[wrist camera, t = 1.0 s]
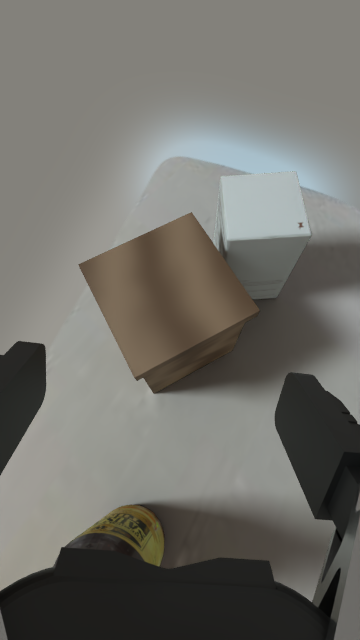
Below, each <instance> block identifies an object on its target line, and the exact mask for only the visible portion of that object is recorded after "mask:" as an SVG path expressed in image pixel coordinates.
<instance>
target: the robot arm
mask: <svg viewBox="0 0 360 640" xmlns="http://www.w3.org/2000/svg"><path fill="white" fill-rule="evenodd" d="M45 391H46V350H45V346H44V345H43V344H40V343H31V342H22V341H18V342H16V343H15V344H14V345H13V346H12V347H11V348H10V349H9V351H8V352H7V353H6V354H5V355H0V475H1V473H2V471H3V470H4V468H5V466H6V465H7V463H8V461H9V459H10V458H11V456H12V454H13V453H14V451H15V449H16V448H17V446H18V444H19V442H20V441H21V439H22V437H23V436H24V434H25V432H26V431H27V429H28V427H29V425H30V424H31V422H32V420H33V419H34V417H35V415H36V413H37V412H38V410H39V408H40V407H41V405H42V403H43V400H44V396H45ZM275 426H276V429H277V432H278V434H279V436H280V439H281V441H282V443H283V446H284V448H285V450H286V453H287V455H288V457H289V460H290V462H291V464H292V467H293V469H294V471H295V474H296V476H297V478H298V480H299V483H300V485H301V487H302V490H303V492H304V494H305V497H306V499H307V501H308V504H309V506H310V508H311V511H312V513H313V515H314V518H315V519H322V520H333V522H334V524H335V526H336V527H335V530H334V532H333V534H332V536H331V540H330V543H329V546H328V550H327V553H326V557H325V560H324V564H323V567H322V571H321V574H320V578H319V581H318V585H317V588H316V591H315V595H314V598H313V600H312V602H310V601H309V600H308V599H307V598H305V597H304V596H302V595H301V594H299V593H298V592H296V591H294V590H293V589H291V588H289V587H287V586H285V585H283V584H281V583H279V582H276V581H274V578H273V574H272V570H271V566H270V563H269V561H263V560H248V559H232V558H216V559H212V560H208V561H203V562H199V563H195V564H190V565H186V566H182V567H177V568H173V569H165V568H161V567H159V566H156V565H153V564H150V563H147V562H145V561H142V560H139V559H136V558H133V557H131V556H128V555H125V554H122V553H119V552H117V551H111V550H95V549H80V548H65V547H61V551H60V554H59V557H58V561H57V564H56V567H52V568H47V569H44V570H41V571H38V572H35V573H33V574H30V575H28V576H26V577H24V578H22V579H20V580H18V581H16V582H14V583H13V584H11V585H9V586H8V587H6V588H4V589H3V590H1V591H0V640H360V425H359V424H357V421H356V420H355V418H354V417H353V416H352V415H350V412H349V411H348V409H347V408H346V407H345V406H344V404H343V403H342V402H341V401H340V400H339V399H337V398H336V397H335V396H333V395H332V394H331V393H329V392H328V391H325V390H324V388H323V387H322V386H321V384H320V383H319V382H318V380H317V379H316V378H315V376H313V375H310V374H301V373H292V372H290V373H288V375H287V376H286V378H285V381H284V385H283V388H282V391H281V394H280V398H279V401H278V404H277V407H276V411H275Z"/></svg>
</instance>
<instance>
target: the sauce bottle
mask: <svg viewBox="0 0 360 640" xmlns="http://www.w3.org/2000/svg"><path fill="white" fill-rule="evenodd" d="M65 548H80V549H95V550H111V551H117V552H119V553H122V554H125V555H128V556H131V557H133V558H136V559H139V560H142V561H145V562H147V563H150V564H153V565H156V566H159V567H160V564H161V561H162V558H163V553H164V532H163V528H162V525H161V523H160V521H159V520H158V518H157V517H156V516H155V514H154V513H153V512H152V511H151V510H149V509H147V508H145V507H142V506H139V505H126V506H121V507H119V508H117V509H115V510H113V511H112V512H110V513H109V514H108V515H106V516H105V517H104V518H102V519H101V520H100V521H98V522H97V523H95V524H94V525H93V526H91V527H90V528H89V529H87V530H86V531H85V532H83V533H82V534H81V535H79V536H77V537H76V538H75V539H73V540H72V541H71V542H70V543H69V544H67V545H66V546H65ZM58 557H59V556H58ZM57 561H58V558H57V560H56V562H55V564H54V566H53V567H56V564H57Z"/></svg>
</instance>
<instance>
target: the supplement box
mask: <svg viewBox="0 0 360 640" xmlns="http://www.w3.org/2000/svg"><path fill="white" fill-rule="evenodd" d="M311 236H312V233H311V230H310V226H309V222H308V218H307V214H306V210H305V206H304V202H303V197H302V193H301V189H300V185H299V181H298V177H297V173H296V172H295V171H292V172H279V173H264V174H249V175H232V176H221V177H220V186H219V196H218V206H217V216H216V225H215V234H214V241H213V244H214V245H215V247H216V248H217V249H218V251H219V252H220V254H221V255H222V257H223V258H224V260H225V261H226V262H227V264H228V265H229V267H230V268H231V270H232V271H233V272H234V274H235V275H236V277H237V278H238V280H239V281H240V283H241V284H242V285H243V287H244V288H245V290H246V291H247V293H248V294H249V295H250V297H251V298H252V299H267V298H277V296H278V294H279V293H280V291H281V289H282V287H283V286H284V284H285V282H286V280H287V278H288V277H289V275H290V273H291V271H292V270H293V268H294V266H295V264H296V262H297V261H298V259H299V257H300V255H301V254H302V252H303V250H304V248H305V246H306V245H307V243H308V241H309V239H310V238H311Z"/></svg>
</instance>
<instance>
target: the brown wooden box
mask: <svg viewBox="0 0 360 640" xmlns="http://www.w3.org/2000/svg"><path fill="white" fill-rule="evenodd" d="M79 267H80V269H81V271H82V273H83V275H84V277H85V279H86V281H87V283H88V285H89V287H90V289H91V291H92V293H93V295H94V297H95V299H96V301H97V303H98V305H99V307H100V309H101V311H102V313H103V315H104V317H105V319H106V321H107V324H108V326H109V328H110V330H111V332H112V334H113V336H114V338H115V340H116V342H117V344H118V346H119V348H120V350H121V352H122V354H123V356H124V358H125V360H126V362H127V364H128V366H129V368H130V370H131V372H132V374H133V376H134V378H135V379H136V380H137V381H138V380H139V379H141V378H144V379H145V381H146V382H147V384H148V385H149V387H150V389H151V390H152V392H153V393H156V392H158V391H160V390H161V389H163V388H165V387H167V386H169V385H171V384H172V383H174V382H176V381H178V380H180V379H181V378H183V377H185V376H187V375H189V374H191V373H192V372H194V371H196V370H198V369H200V368H202V367H203V366H205V365H207V364H209V363H211V362H212V361H214V360H216V359H218V358H220V357H222V356H223V355H225V354H227V353H229V352H231V351H233V348H234V346H235V344H236V342H237V339H238V337H239V335H240V332H241V330H242V328H243V326H244V323H246V322H247V321H249V320H251V319H253V318H255V317H257V316H258V314H259V312H260V310H259V308H258V307H257V305H256V304H255V303H254V301H253V300H252V298H251V297H250V295H249V294H248V293H247V291H246V290H245V288H244V287H243V285H242V284H241V283H240V281H239V280H238V278H237V277H236V275H235V274H234V272H233V271H232V270H231V268H230V267H229V265H228V264H227V262H226V261H225V260H224V258H223V257H222V255H221V254H220V252H219V251H218V249H217V248H216V247H215V245H214V244H213V242H212V241H211V239H210V238H209V237H208V235H207V234H206V232H205V231H204V229H203V228H202V226H201V225H200V224H199V222H198V221H197V219H196V218H195V216H194V215H193V214H192V212H191V213H189V214H187V215H184V216H182V217H180V218H178V219H176V220H174V221H172V222H169V223H167V224H165V225H163V226H161V227H159V228H156V229H154V230H152V231H150V232H148V233H146V234H143V235H141V236H139V237H137V238H135V239H133V240H130V241H128V242H126V243H124V244H122V245H120V246H117V247H115V248H113V249H111V250H109V251H107V252H105V253H102V254H100V255H98V256H96V257H94V258H92V259H89V260H87V261H85V262H83V263H81V264H79Z"/></svg>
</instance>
